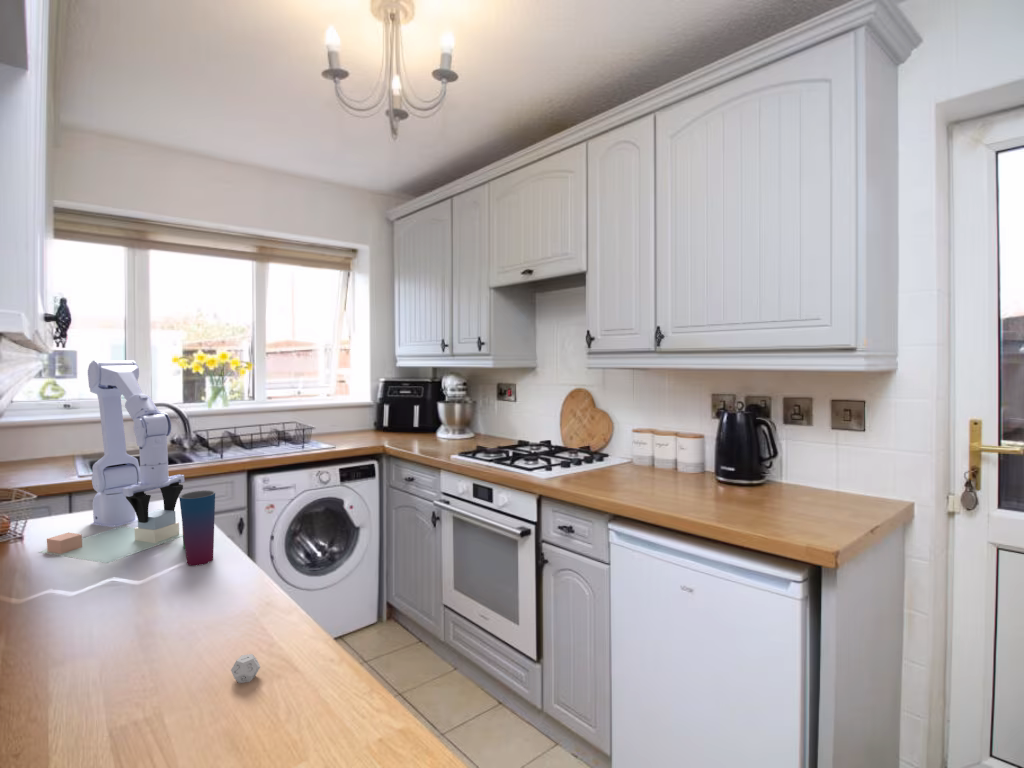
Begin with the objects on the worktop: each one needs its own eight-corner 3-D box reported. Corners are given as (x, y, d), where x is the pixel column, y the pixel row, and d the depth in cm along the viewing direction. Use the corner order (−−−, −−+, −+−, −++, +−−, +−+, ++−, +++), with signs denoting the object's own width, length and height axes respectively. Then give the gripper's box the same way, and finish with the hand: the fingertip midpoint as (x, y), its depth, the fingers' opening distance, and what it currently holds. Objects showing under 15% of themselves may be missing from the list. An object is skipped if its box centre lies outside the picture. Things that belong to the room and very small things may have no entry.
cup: (222, 560, 118) (219, 493, 117) (187, 570, 113) (184, 500, 112) (211, 553, 123) (209, 488, 122) (177, 561, 118) (175, 494, 117)
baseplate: (38, 554, 122) (38, 551, 122) (121, 528, 141) (121, 526, 140) (107, 565, 116) (107, 563, 116) (185, 536, 134) (185, 534, 134)
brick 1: (47, 551, 123) (46, 538, 122) (68, 544, 127) (68, 532, 127) (61, 553, 121) (60, 540, 121) (82, 546, 126) (81, 534, 125)
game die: (230, 676, 76) (229, 656, 76) (259, 668, 78) (258, 648, 78) (232, 689, 73) (231, 668, 73) (261, 681, 75) (261, 660, 75)
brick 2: (138, 527, 130) (137, 515, 130) (159, 520, 135) (158, 509, 135) (154, 529, 128) (154, 517, 128) (175, 522, 133) (175, 511, 133)
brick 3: (134, 540, 130) (134, 528, 130) (159, 531, 136) (159, 520, 136) (154, 543, 128) (154, 530, 128) (179, 534, 134) (178, 522, 134)
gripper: (137, 470, 123) (140, 528, 124) (192, 458, 137) (194, 511, 137) (115, 468, 125) (117, 525, 126) (171, 457, 139) (174, 508, 139)
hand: (156, 518), depth 132 cm, fingers open, 6 cm apart
